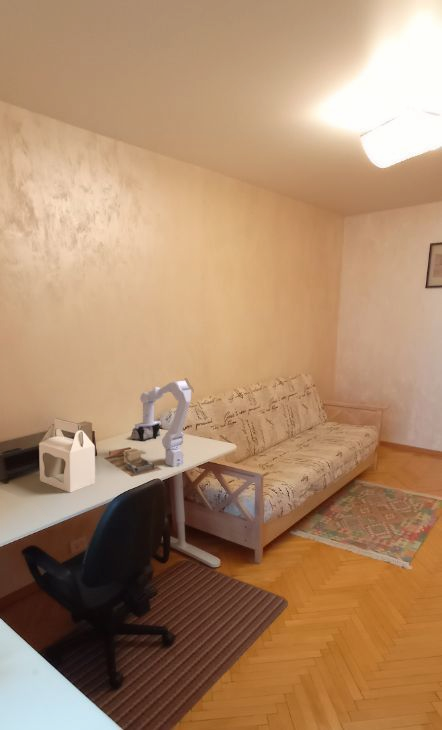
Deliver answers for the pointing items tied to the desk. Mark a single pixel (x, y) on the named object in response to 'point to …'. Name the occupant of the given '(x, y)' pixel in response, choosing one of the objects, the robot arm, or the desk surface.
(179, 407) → the robot arm
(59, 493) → the desk surface
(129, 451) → the block
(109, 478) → the desk surface
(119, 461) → the lane board
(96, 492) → the desk surface
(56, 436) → the gable box
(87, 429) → the decorative block
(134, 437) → the geode
